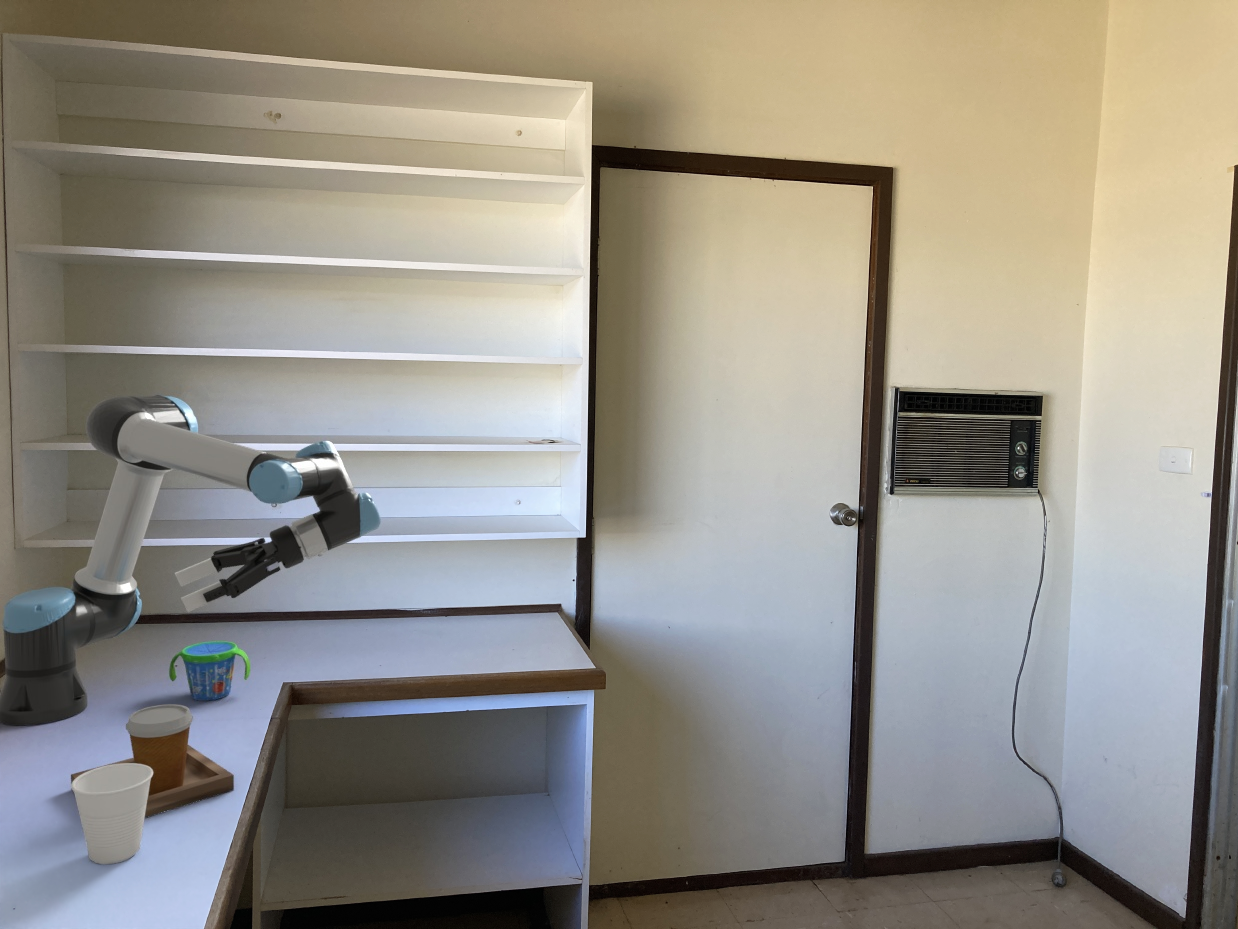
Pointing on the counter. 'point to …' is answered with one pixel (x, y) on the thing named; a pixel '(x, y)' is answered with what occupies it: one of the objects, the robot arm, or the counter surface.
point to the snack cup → (210, 668)
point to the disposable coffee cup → (161, 743)
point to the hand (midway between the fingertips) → (180, 592)
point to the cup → (113, 809)
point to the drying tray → (187, 783)
